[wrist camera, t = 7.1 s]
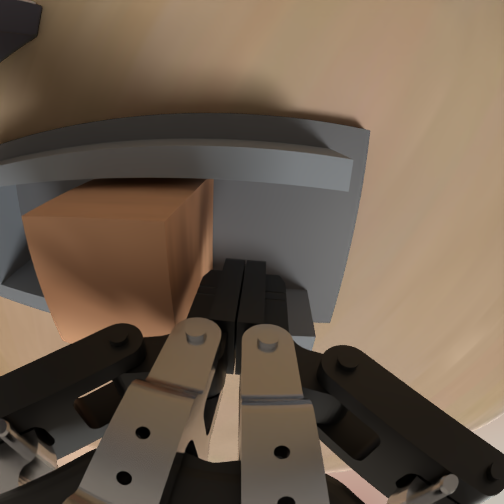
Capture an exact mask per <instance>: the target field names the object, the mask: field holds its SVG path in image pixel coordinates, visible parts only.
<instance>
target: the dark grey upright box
mask: <svg viewBox="0 0 504 504" xmlns="http://www.w3.org/2000/svg"><path fill="white" fill-rule="evenodd" d="M41 11H42V6H41V5H37V4H36V2H34V1H30V0H0V62H1V61H2V60H4V59H5V58H6V57H8V56H9V55H10V54H12V53H13V52H15V51H16V50H17V49H19V48H20V47H22V46H23V45H25V44H26V43H28V42H29V41H31V40H32V39H34V38H35V37H36V36H37V33H38V27H39V21H40V16H41Z"/></svg>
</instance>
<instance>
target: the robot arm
mask: <svg viewBox="0 0 504 504" xmlns="http://www.w3.org/2000/svg"><path fill="white" fill-rule="evenodd" d="M245 264H246V268H245ZM235 359H236V368H235V374H238V375H240V387H239V424H238V461H230V462H220V463H212V462H208V461H207V460H208V455H209V445H210V439H211V435H212V431H213V427H214V424H215V420H216V416H217V412H218V409H219V405H220V401H221V397H222V393H223V387H224V383H225V377H226V373H227V374H233V373H234V366H235ZM111 380H112V381H113V382H111V383H109V384H107V385H105V386H103V387H102V388H100V389H98V390H96V391H94V392H92V393H90V394H88V395H86V396H84V397H82V398H78V397H80V396H82V395H84V394H86V393H87V392H89V391H91V390H93V389H95V388H97V387H99V386H101V385H103V384H105V383H107V382H109V381H111ZM100 438H102V439H101V441H100V443H99V445H98V447H97V449H94V450H91V451H89V452H87V453H86V454H84V455H82V456H80V457H78V458H76V459H74V460H73V461H71V462H69V463H67V464H65V465H63V466H61V467H59V468H58V465H57V460H58V459H60V458H62V457H64V456H66V455H68V454H70V453H73V452H75V451H76V450H79V449H81V448H83V447H85V446H87V445H88V444H90V443H92V442H94V441H96V440H98V439H100ZM319 439H320V440H321V441H322V442H323V443H324V444H325V445H326V446H327V447H328V448H329V449H331V450H332V451H333V452H334V453H335V454H336V455H337V456H338V457H339V458H340V459H342V460H343V461H344V462H345V463H346V464H347V465H348V466H350V467H351V468H352V469H353V470H354V471H356V472H357V473H358V474H359V475H360V476H361V477H362V478H364V479H365V480H366V481H367V482H368V483H370V484H371V485H372V486H373V487H375V488H376V489H377V490H378V491H380V492H381V493H382V494H383V495H385V496H386V497H387V498H389V499H388V502H387V504H480V503H482V502H484V501H486V500H488V499H490V498H491V497H493V496H495V495H497V494H498V493H500V492H501V491H502V490H503V489H504V454H503V453H502V452H500V451H499V450H497V449H496V448H494V447H493V446H491V445H490V444H488V443H487V442H486V441H484V440H483V439H481V438H480V437H479V436H477V435H476V434H474V433H473V432H472V431H470V430H469V429H467V428H466V427H465V426H463V425H462V424H460V423H459V422H458V421H456V420H455V419H453V418H452V417H451V416H449V415H448V414H446V413H445V412H444V411H442V410H441V409H440V408H438V407H437V406H435V405H434V404H433V403H431V402H430V401H428V400H427V399H426V398H424V397H423V396H422V395H420V394H419V393H418V392H416V391H415V390H413V389H412V388H411V387H409V386H408V385H407V384H405V383H404V382H403V381H401V380H400V379H398V378H397V377H396V376H394V375H393V374H392V373H390V372H389V371H388V370H386V369H385V368H384V367H382V366H381V365H380V364H378V363H377V362H375V361H374V360H373V359H371V358H370V357H369V356H367V355H366V354H365V353H363V352H362V351H361V350H359V349H357V348H355V347H352V346H347V345H338V346H334V347H331V348H329V349H328V350H326V351H325V353H324V354H321V353H318V352H314V351H310V350H308V349H305V348H303V347H301V346H300V345H298V344H297V343H296V342H295V341H294V340H293V338H292V336H291V335H290V333H289V326H288V311H287V298H286V285H285V282H284V281H283V280H282V278H281V277H280V276H279V275H268V274H266V261H257V260H247V262H246V260H244V259H231V258H226V260H225V263H224V267H223V270H222V271H220V270H210V271H209V272H208V273H207V274H205V275H204V276H203V277H202V280H201V282H200V285H199V287H198V290H197V294H196V295H195V298H194V300H193V303H192V305H191V308H190V311H189V313H188V316H187V318H186V319H185V320H182V321H180V322H179V323H177V324H176V325H175V326H174V327H173V329H172V331H171V333H170V334H167V335H163V336H153V337H143V335H142V332H141V331H140V329H139V328H137V327H136V326H134V325H132V324H128V323H118V324H113V325H111V326H108V327H106V328H104V329H102V330H100V331H98V332H95V333H93V334H91V335H89V336H87V337H85V338H83V339H81V340H78V341H76V342H74V343H72V344H70V345H68V346H65V347H63V348H61V349H59V350H57V351H55V352H53V353H50V354H48V355H46V356H44V357H42V358H40V359H37V360H35V361H33V362H31V363H29V364H27V365H24V366H22V367H20V368H18V369H16V370H14V371H11V372H9V373H7V374H5V375H3V376H0V504H365V503H364V502H363V501H361V500H360V499H359V498H358V497H357V496H356V495H355V494H354V493H352V491H351V490H350V489H348V488H347V487H346V486H345V485H344V484H342V483H341V482H339V481H338V480H337V479H335V478H333V477H331V476H329V475H327V474H325V471H324V464H323V458H322V453H321V447H320V441H319Z"/></svg>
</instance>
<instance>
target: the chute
mask: <svg viewBox="0 0 504 504" xmlns="http://www.w3.org/2000/svg"><path fill="white" fill-rule="evenodd" d="M369 137H370V130H366V129H361V128H356V127H351V126H345V125H340V124H334V123H328V122H321V121H314V120H307V119H299V118H290V117H280V116H268V115H254V114H232V113H182V114H161V115H147V116H136V117H126V118H117V119H110V120H103V121H96V122H90V123H84V124H78V125H73V126H68V127H63V128H58V129H54V130H50V131H45V132H41V133H37V134H34V135H30V136H26V137H23V138H19V139H16V140H13V141H9V142H6V143H3V144H0V296H2V297H4V298H7V299H10V300H12V301H15V302H18V303H21V304H24V305H27V306H30V307H33V308H36V309H39V310H42V311H46V312H49V313H50V311H49V308H48V305H47V303H46V300H45V298H44V295H43V292H42V289H41V286H40V284H39V281H38V278H37V274H36V271H35V268H34V265H33V261H32V258H31V254H30V251H29V247H28V243H27V239H26V235H25V231H24V226H23V221H22V215H24V214H26V213H28V212H29V211H31V210H33V209H35V208H36V207H38V206H40V205H42V204H44V203H46V202H48V201H49V200H51V199H53V198H55V197H57V196H59V195H61V194H63V193H65V192H67V191H69V190H71V189H73V188H75V187H78V186H80V185H82V184H84V183H86V182H88V181H91V180H93V179H100V178H197V179H214V186H213V270H220V271H222V270H223V267H224V263H225V260H226V258H231V259H244V260H246V262H247V260H257V261H266V274H268V275H279V276H280V277H281V278H282V280H283V281H284V282H285V285H286V298H287V311H288V326H289V333H290V335H291V336H292V338H293V340H294V341H295V342H296V343H297V344H298V345H300V346H301V347H303V348H305V349H308V350H310V351H312V347H313V344H314V341H315V337H316V336H315V330H314V325H313V322H317V323H330V321H331V318H332V314H333V311H334V308H335V304H336V301H337V297H338V293H339V290H340V286H341V282H342V278H343V275H344V271H345V267H346V263H347V258H348V254H349V250H350V246H351V241H352V237H353V232H354V227H355V223H356V218H357V213H358V208H359V202H360V197H361V191H362V185H363V179H364V173H365V167H366V160H367V153H368V145H369ZM245 268H246V264H245Z"/></svg>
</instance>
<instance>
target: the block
mask: <svg viewBox="0 0 504 504" xmlns="http://www.w3.org/2000/svg"><path fill="white" fill-rule="evenodd" d="M213 186H214V179H197V178H100V179H93V180H91V181H88V182H86V183H84V184H82V185H80V186H78V187H75V188H73V189H71V190H69V191H67V192H65V193H63V194H61V195H59V196H57V197H55V198H53V199H51V200H49V201H48V202H46V203H44V204H42V205H40V206H38V207H36V208H35V209H33V210H31V211H29V212H28V213H26V214H24V215H22V221H23V226H24V231H25V235H26V239H27V243H28V247H29V251H30V254H31V258H32V261H33V265H34V268H35V271H36V274H37V278H38V281H39V284H40V286H41V289H42V292H43V295H44V298H45V300H46V303H47V305H48V308H49V311H50V313H51V315H52V318H53V320H54V323H55V325H56V327H57V329H58V332H59V334H60V336H61V338H62V340H63V341H65V342H68V343H71V344H72V343H74V342H76V341H78V340H81V339H83V338H85V337H87V336H89V335H91V334H93V333H95V332H98V331H100V330H102V329H104V328H106V327H108V326H111V325H113V324H118V323H128V324H132V325H134V326H136V327H137V328H139V329H140V331H141V332H142V335H143V337H153V336H163V335H167V334H170V333H171V331H172V329H173V327H174V326H175V325H176V324H177V323H179V322H180V321H182V320H185V319H186V318H187V316H188V313H189V311H190V308H191V305H192V303H193V300H194V298H195V295H196V294H197V290H198V287H199V285H200V282H201V280H202V277H203V276H204V275H205V274H207V273H208V272H209V271H210V270H213Z"/></svg>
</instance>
